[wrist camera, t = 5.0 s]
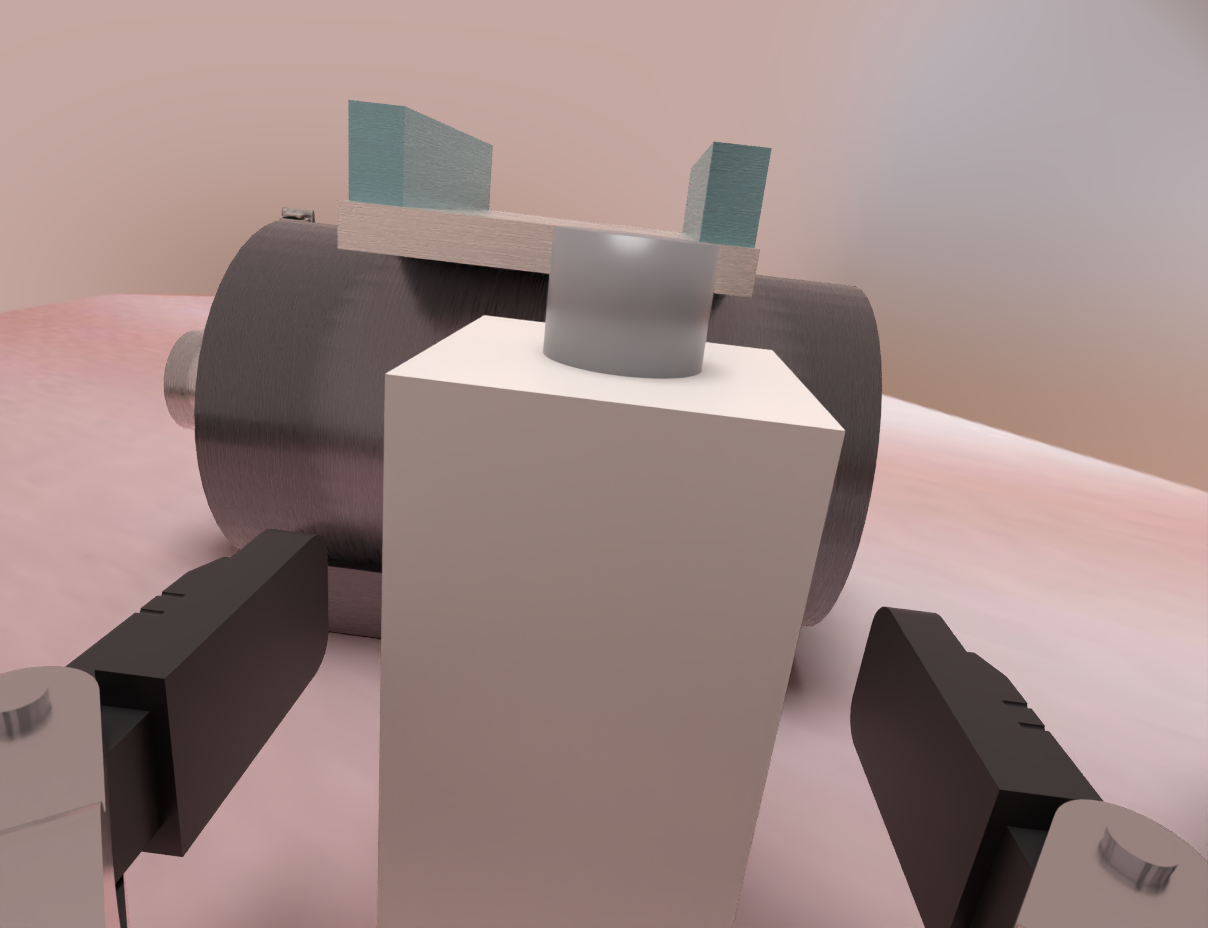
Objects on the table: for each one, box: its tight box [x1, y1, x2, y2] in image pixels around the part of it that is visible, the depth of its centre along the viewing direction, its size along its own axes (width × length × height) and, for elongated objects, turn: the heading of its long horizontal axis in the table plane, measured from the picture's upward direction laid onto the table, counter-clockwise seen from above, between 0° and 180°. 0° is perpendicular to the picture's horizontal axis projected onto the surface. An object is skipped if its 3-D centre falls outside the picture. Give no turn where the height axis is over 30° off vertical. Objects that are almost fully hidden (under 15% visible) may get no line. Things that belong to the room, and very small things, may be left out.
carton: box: [377, 226, 845, 928], centre depth 11 cm, size 4×4×12 cm
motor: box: [164, 100, 882, 638], centre depth 22 cm, size 19×10×13 cm, turn 86°
